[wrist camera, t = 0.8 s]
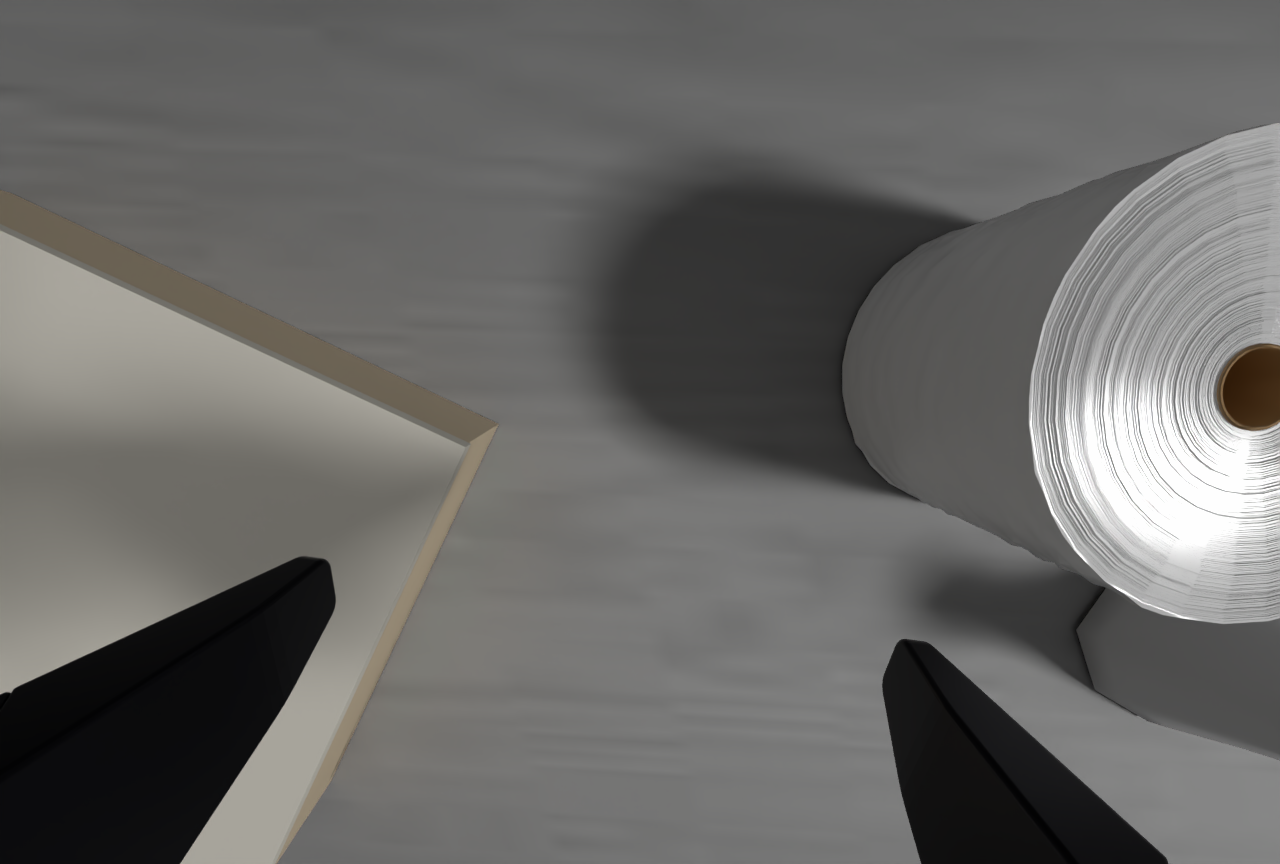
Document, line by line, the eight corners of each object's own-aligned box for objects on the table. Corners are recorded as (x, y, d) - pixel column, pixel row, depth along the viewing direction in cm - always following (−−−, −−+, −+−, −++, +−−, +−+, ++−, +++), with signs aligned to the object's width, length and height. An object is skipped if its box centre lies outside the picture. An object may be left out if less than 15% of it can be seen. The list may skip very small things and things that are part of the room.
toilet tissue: (853, 217, 21) (1070, 95, 11) (1164, 240, 22) (1634, 142, 12) (824, 501, 22) (994, 620, 12) (1117, 514, 23) (1499, 636, 13)
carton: (331, 781, 23) (253, 899, 18) (-135, 598, 21) (-364, 674, 16) (498, 424, 21) (464, 445, 16) (10, 193, 19) (-195, 138, 14)
